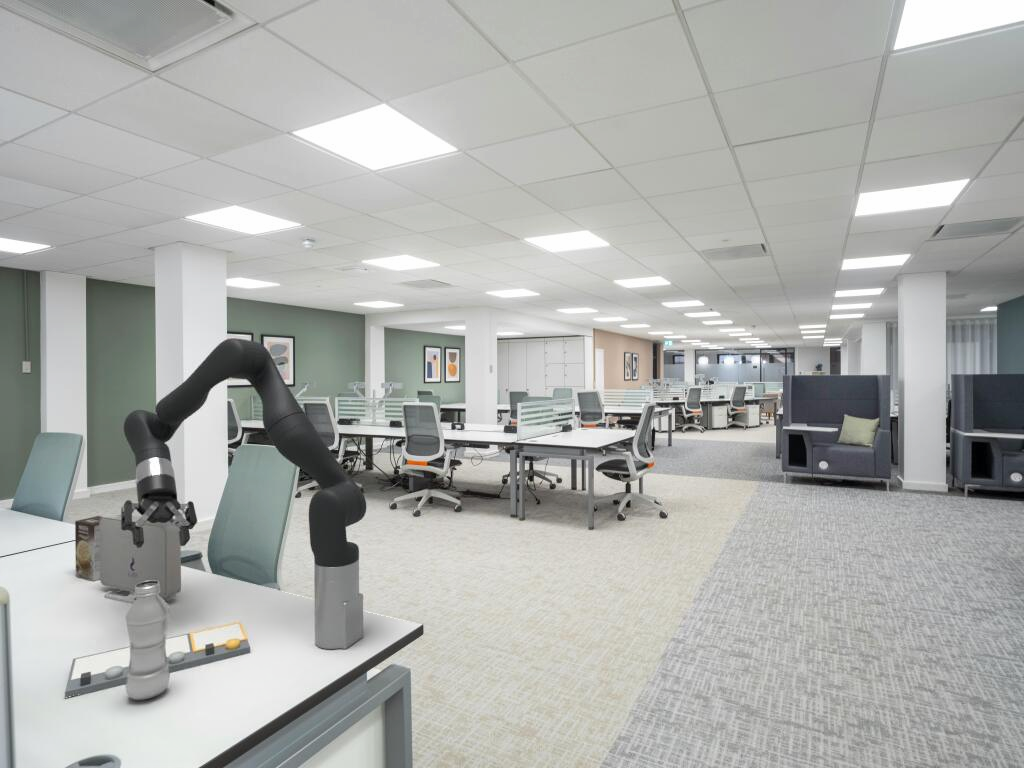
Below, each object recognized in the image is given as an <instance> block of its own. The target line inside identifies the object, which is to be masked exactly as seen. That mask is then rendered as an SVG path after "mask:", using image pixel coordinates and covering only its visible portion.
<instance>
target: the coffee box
mask: <svg viewBox="0 0 1024 768" xmlns="http://www.w3.org/2000/svg"><path fill="white" fill-rule="evenodd" d="M102 517H103V516H100V515H95V516H91V517H88V518H87V517H86V518H84V519H78V520H75V521H74V523H75V524H74V525H75V526H74V527H75V528H74V529H75V530H74V531H75V535H74V538H75V550H74V551H75V577H77V578H81V579H84V580H88V581H92V582H96V581H99V579H100V530H99V521H100V519H101V518H102Z"/></svg>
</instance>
